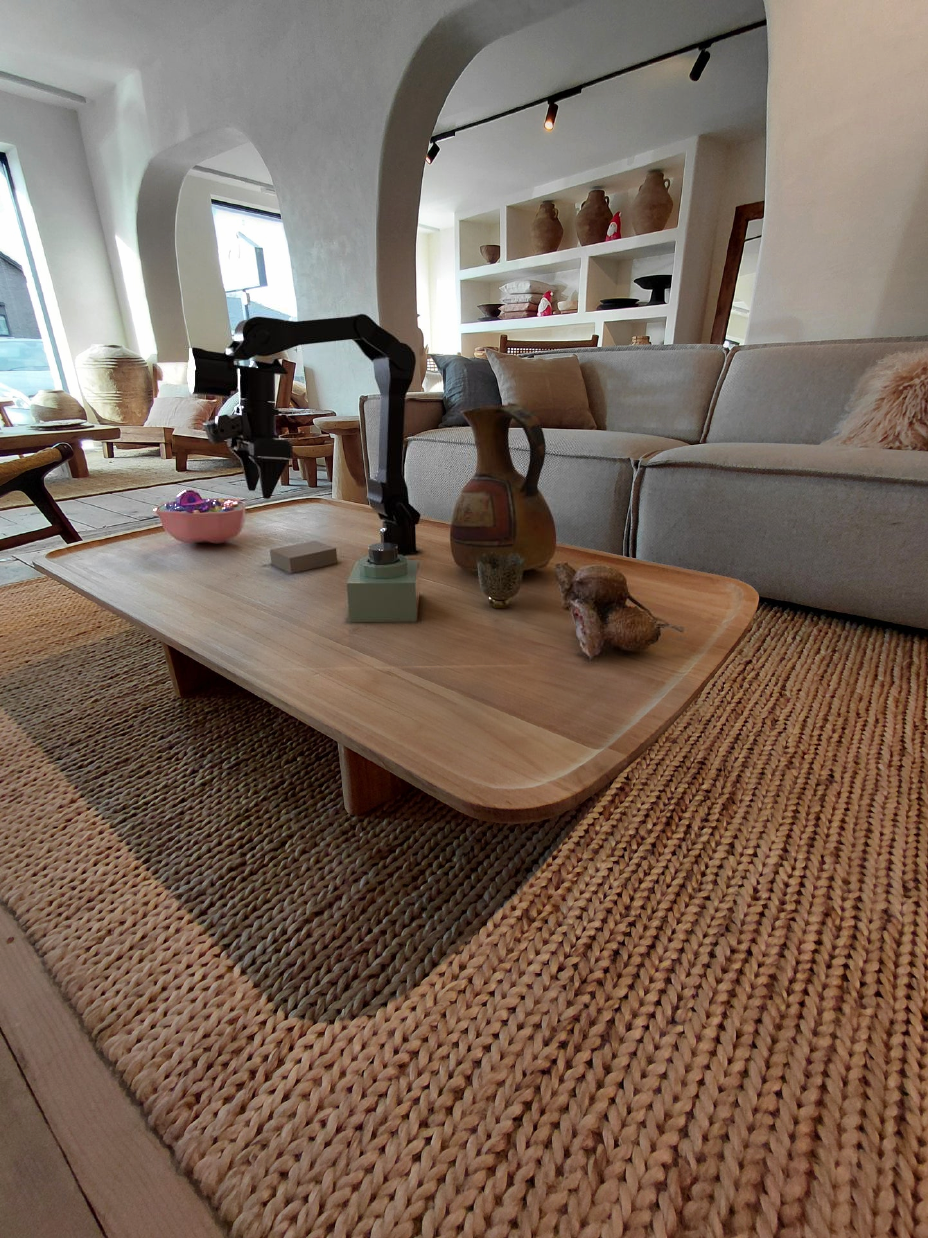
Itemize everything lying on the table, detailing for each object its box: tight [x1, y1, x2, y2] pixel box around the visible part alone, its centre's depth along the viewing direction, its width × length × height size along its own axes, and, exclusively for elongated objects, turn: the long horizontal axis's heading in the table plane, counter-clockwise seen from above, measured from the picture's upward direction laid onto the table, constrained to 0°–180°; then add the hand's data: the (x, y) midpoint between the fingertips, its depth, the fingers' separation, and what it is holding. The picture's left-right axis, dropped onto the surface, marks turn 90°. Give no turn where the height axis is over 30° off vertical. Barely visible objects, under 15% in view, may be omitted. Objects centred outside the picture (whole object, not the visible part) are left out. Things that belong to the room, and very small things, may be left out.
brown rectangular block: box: [269, 540, 338, 574], centre depth 113 cm, size 10×8×3 cm
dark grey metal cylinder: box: [367, 542, 398, 565], centre depth 88 cm, size 4×4×3 cm
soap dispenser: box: [346, 554, 420, 623], centre depth 90 cm, size 11×10×8 cm
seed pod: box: [554, 562, 685, 661], centre depth 78 cm, size 13×16×15 cm
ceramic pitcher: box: [449, 402, 557, 572], centre depth 104 cm, size 20×20×30 cm
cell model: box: [153, 489, 247, 545], centre depth 125 cm, size 17×20×11 cm
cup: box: [477, 551, 525, 610], centre depth 91 cm, size 8×7×8 cm
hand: (258, 494), depth 102 cm, fingers open, 9 cm apart
